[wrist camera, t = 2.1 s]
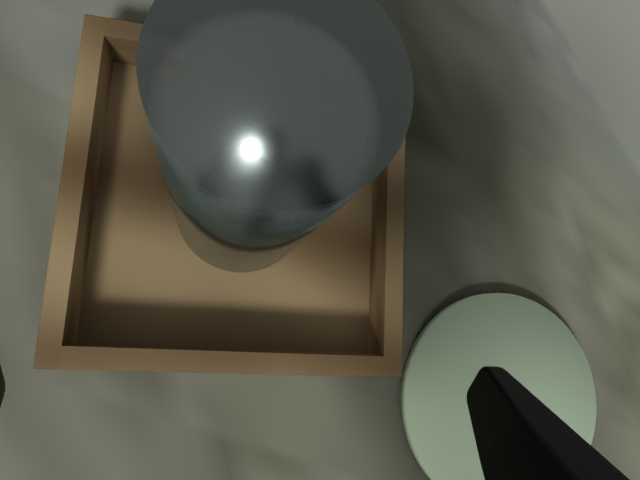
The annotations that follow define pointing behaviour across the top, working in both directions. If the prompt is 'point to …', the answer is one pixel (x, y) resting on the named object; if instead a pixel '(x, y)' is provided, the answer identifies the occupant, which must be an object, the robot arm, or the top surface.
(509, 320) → the drink coaster
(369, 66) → the grey round cylinder
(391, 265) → the light wooden tray
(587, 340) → the top surface
